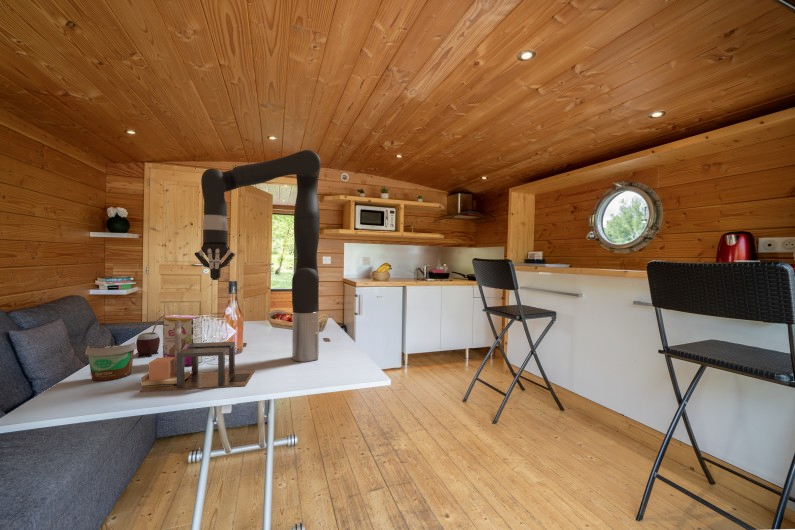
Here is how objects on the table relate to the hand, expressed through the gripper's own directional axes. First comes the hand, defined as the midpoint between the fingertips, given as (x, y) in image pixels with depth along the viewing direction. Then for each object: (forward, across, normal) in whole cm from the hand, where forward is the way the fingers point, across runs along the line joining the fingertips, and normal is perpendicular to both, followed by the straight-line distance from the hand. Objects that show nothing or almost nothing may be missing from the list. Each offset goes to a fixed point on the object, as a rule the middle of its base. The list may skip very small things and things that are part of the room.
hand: (215, 279), depth 119 cm
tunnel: (+29, -1, +17) cm, 34 cm away
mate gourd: (+29, +27, -15) cm, 43 cm away
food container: (+29, +26, +11) cm, 41 cm away
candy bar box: (+29, +11, -2) cm, 31 cm away
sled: (+28, +8, +17) cm, 34 cm away
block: (+27, +9, +17) cm, 33 cm away
